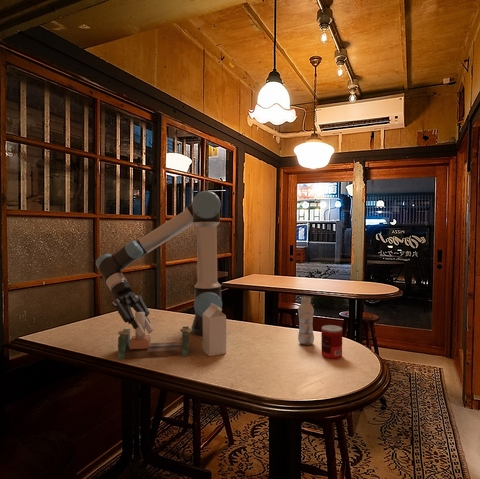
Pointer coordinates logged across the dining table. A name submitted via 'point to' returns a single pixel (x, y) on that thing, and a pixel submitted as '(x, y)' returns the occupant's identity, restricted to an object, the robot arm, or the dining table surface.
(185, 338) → the rail board
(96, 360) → the dining table surface
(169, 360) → the dining table surface
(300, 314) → the plastic bottle
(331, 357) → the canned food
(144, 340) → the carriage
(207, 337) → the milk carton
